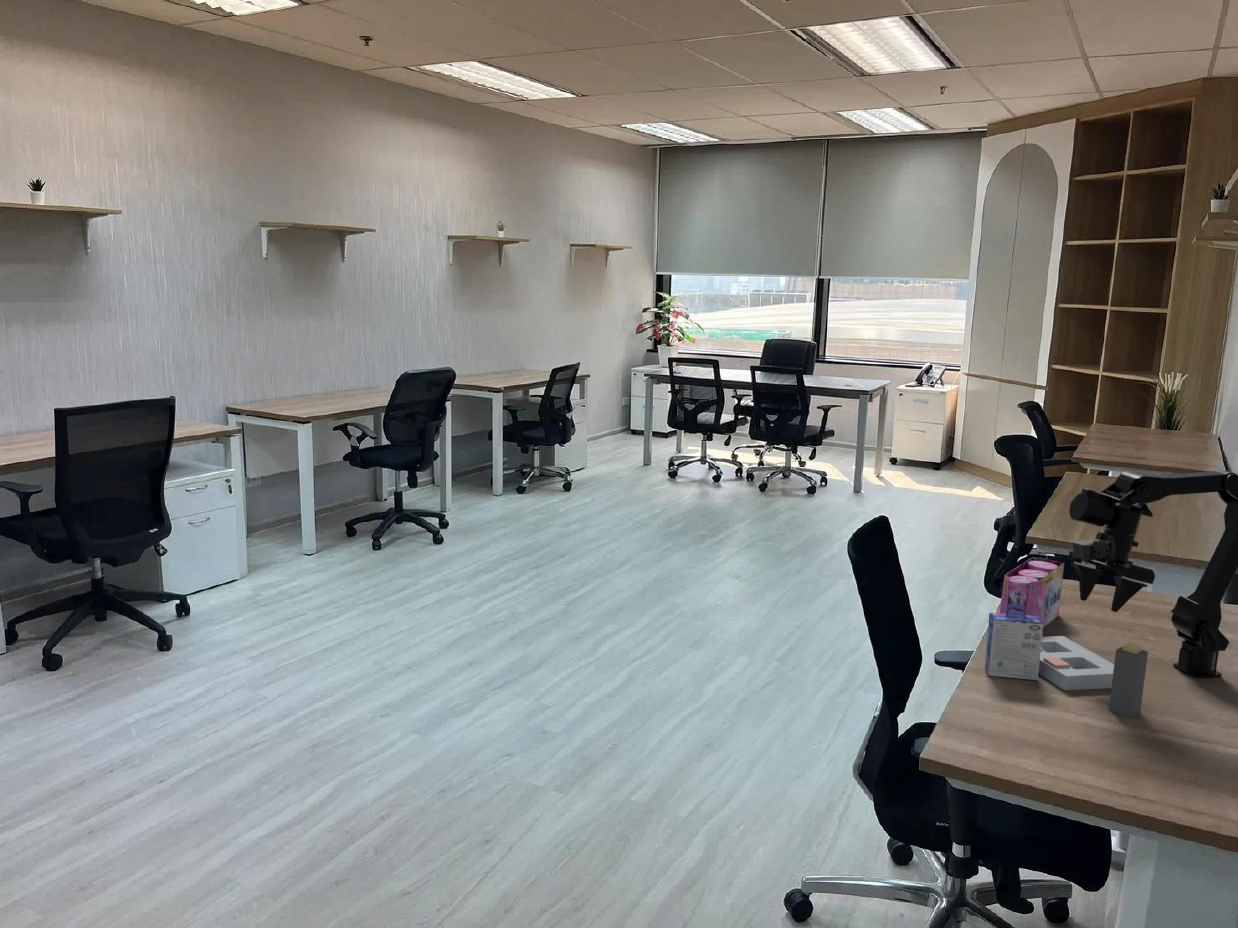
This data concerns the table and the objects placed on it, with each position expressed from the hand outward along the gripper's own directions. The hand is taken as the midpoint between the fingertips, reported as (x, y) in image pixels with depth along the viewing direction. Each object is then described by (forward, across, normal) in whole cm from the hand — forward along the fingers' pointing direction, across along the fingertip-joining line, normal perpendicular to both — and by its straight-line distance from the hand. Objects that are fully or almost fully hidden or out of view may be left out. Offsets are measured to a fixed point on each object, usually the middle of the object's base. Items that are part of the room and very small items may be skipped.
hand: (1098, 605), depth 189 cm
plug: (+17, +16, -1) cm, 23 cm away
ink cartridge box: (+19, -3, -12) cm, 23 cm away
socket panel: (+15, -5, 0) cm, 16 cm away
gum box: (+11, -32, +10) cm, 35 cm away
